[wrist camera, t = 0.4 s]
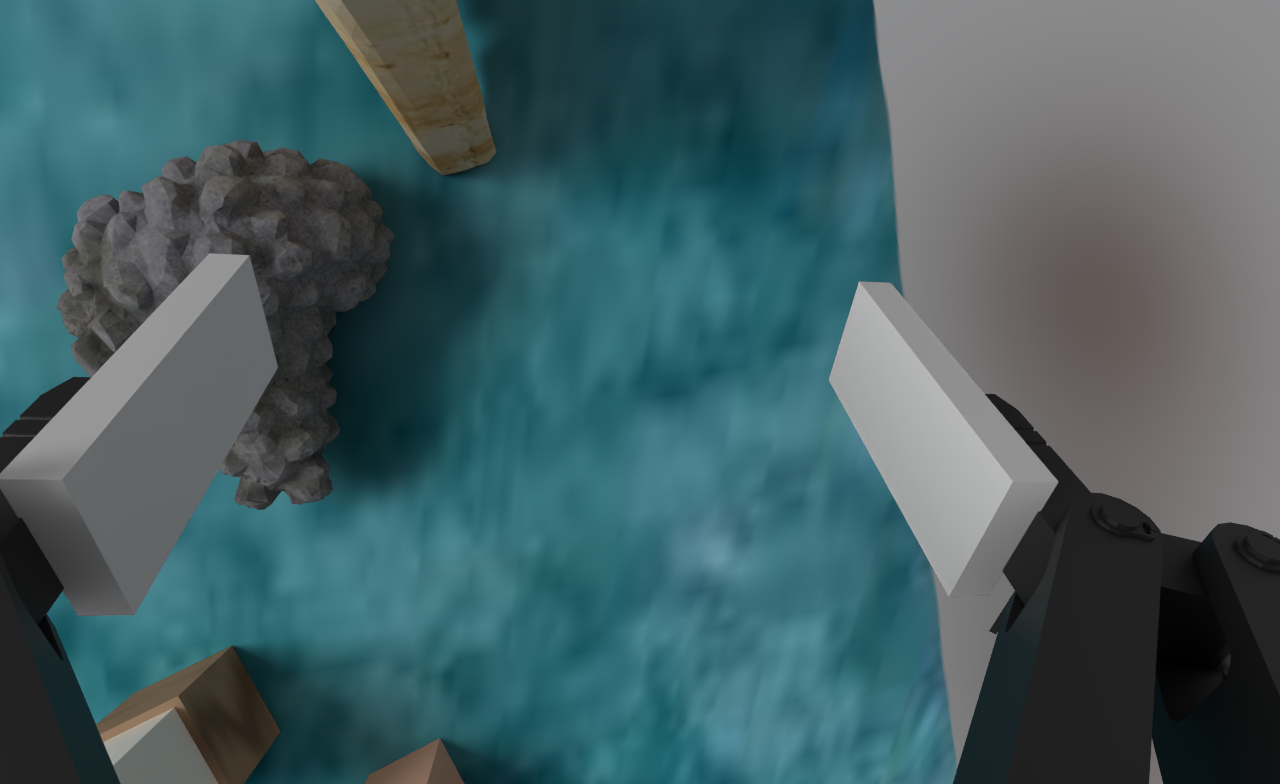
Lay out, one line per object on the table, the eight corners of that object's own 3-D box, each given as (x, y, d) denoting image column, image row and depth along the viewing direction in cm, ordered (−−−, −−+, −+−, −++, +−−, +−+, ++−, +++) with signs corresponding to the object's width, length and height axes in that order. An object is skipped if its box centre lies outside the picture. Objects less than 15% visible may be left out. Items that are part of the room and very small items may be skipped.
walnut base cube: (280, 731, 48) (235, 795, 41) (184, 779, 48) (122, 852, 41) (232, 645, 47) (178, 696, 41) (134, 693, 47) (62, 752, 40)
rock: (222, 429, 53) (385, 493, 49) (-20, 480, 38) (188, 577, 35) (260, 141, 49) (442, 189, 45) (3, 73, 34) (244, 136, 30)
